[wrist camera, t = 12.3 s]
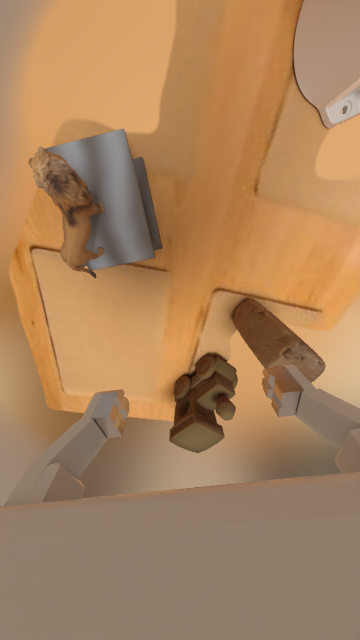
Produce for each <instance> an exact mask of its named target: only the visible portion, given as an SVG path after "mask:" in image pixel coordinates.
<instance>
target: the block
mask: <svg viewBox="0 0 360 640" xmlns="http://www.w3.org/2000/svg"><path fill="white" fill-rule="evenodd" d="M233 323H234V325H235V327H236V328H237V330H238V331H239V333H240V334H241V336H242V338H243V339H244V340H245V342H246V343H247V344H248V346H249V348H250V349H251V350H252V351H253V353H254V354H255V356H256V357H257V359H258V360H259V361H260V362H261V364H262V365H263V366H264V367H265V368H272V367H278V366H285V365H292V364H293V365H295V366H296V367H297V368H298V369H299V371H300V372H301V373H302V374H303V375H304V376H305V377H306V378H307V379H308V380H309V381H310V382H311V383H312V382H313V381H315V380H316V379H317V378H318V377H319V376H320V375H321V374H322V373H323V371H324V370H325V362H324V361H323V360H322V359H321V357H319V356H318V355H317V354H316V353H315V351H314V350H312V349H311V348H310V347H309V346H308V345H307V344H306V343H305V342H304V341H303V340H301V339H300V338H299V337H298V336H297V335H296V334H295V333H294V332H293V331H292V330H290V329H289V328H288V327H287V326H286V325H285V324H284V323H282V322H281V321H280V320H279V319H278V318H277V317H276V316H275V315H273V314H272V313H271V312H270V311H268V310H267V309H266V308H265V307H263V306H262V305H261V304H259V303H258V302H256V301H255V300H252V299H248V300H246V301H245V302H243V303H242V304H241V305H240V306H239V307H238V308H237V309H236V311H235V313H234V317H233Z"/></svg>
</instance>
